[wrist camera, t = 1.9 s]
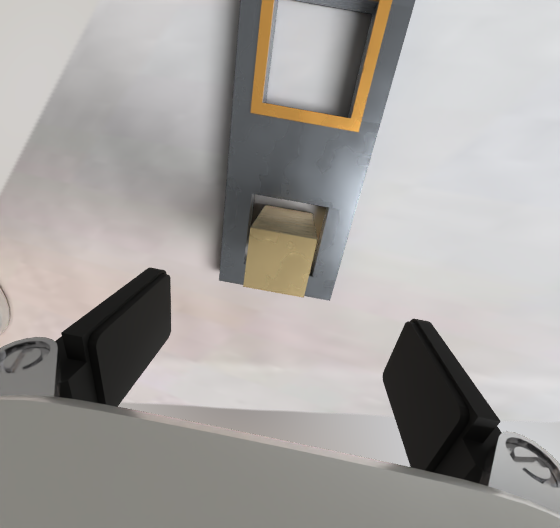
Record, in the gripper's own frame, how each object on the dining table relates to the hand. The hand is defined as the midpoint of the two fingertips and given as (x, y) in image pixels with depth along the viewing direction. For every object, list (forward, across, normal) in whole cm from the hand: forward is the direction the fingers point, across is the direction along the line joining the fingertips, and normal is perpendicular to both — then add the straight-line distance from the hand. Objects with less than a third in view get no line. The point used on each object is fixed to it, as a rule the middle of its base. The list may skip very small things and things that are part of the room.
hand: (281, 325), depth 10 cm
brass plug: (+13, +1, 0) cm, 13 cm away
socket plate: (+13, +1, -6) cm, 14 cm away
